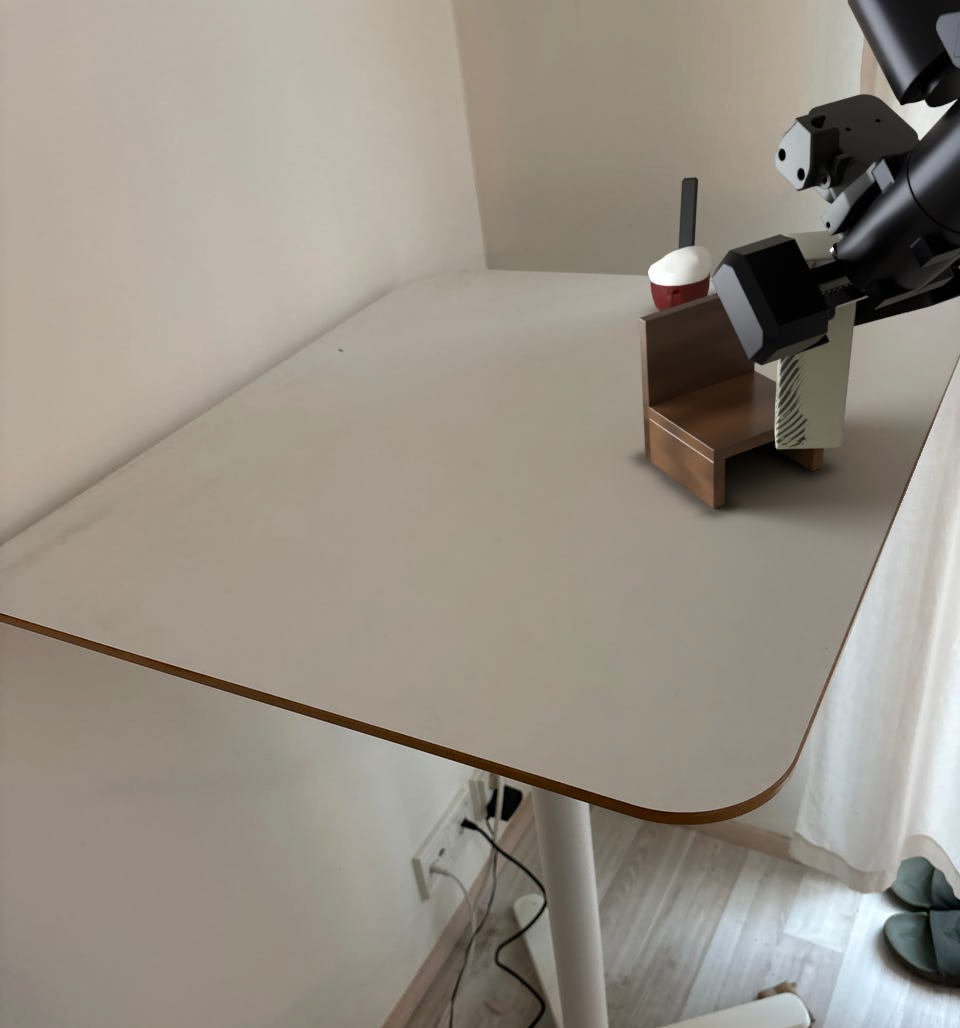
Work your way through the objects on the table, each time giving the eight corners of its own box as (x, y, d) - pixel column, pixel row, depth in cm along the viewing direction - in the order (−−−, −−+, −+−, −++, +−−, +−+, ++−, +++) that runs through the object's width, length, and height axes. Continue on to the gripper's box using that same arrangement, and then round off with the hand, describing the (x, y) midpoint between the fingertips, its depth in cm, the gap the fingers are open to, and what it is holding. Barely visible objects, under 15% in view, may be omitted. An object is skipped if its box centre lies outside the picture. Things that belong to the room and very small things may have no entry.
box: (774, 417, 68) (780, 231, 60) (839, 415, 67) (855, 224, 59) (775, 454, 64) (782, 259, 56) (844, 451, 63) (862, 252, 55)
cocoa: (680, 330, 99) (678, 209, 91) (632, 320, 103) (626, 203, 95) (733, 298, 103) (735, 179, 96) (685, 289, 107) (683, 175, 100)
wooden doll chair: (822, 467, 74) (835, 317, 67) (713, 509, 72) (714, 358, 65) (746, 421, 82) (750, 281, 74) (644, 457, 80) (638, 317, 72)
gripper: (1029, 6, 50) (862, 193, 65) (733, 86, 46) (627, 267, 61) (1126, 188, 49) (933, 336, 64) (833, 288, 45) (700, 421, 60)
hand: (801, 335), depth 62 cm, fingers closed on box, 6 cm apart
